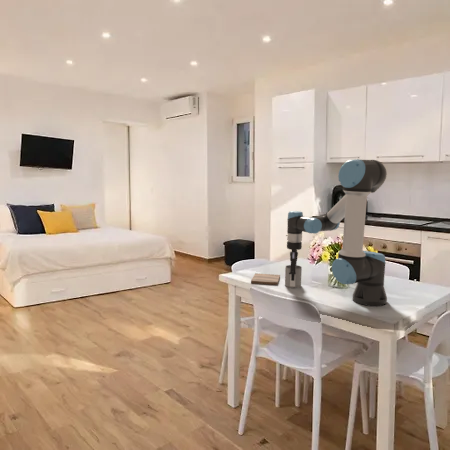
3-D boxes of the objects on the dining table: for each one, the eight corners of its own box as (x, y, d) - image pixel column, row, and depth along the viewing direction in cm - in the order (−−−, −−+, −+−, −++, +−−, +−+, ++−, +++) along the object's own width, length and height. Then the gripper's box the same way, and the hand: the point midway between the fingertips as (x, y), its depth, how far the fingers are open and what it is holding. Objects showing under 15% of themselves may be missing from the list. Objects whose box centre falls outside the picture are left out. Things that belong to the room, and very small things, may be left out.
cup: (300, 288, 218) (301, 269, 217) (284, 287, 220) (285, 268, 218) (301, 283, 226) (301, 265, 225) (285, 282, 228) (286, 264, 226)
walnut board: (277, 285, 224) (277, 282, 223) (251, 283, 226) (251, 280, 226) (280, 277, 239) (280, 274, 239) (255, 275, 242) (255, 273, 242)
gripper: (288, 237, 231) (287, 278, 234) (285, 244, 210) (284, 289, 213) (302, 238, 229) (300, 279, 232) (301, 245, 209) (299, 290, 212)
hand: (293, 283), depth 223 cm, fingers closed on cup, 8 cm apart
